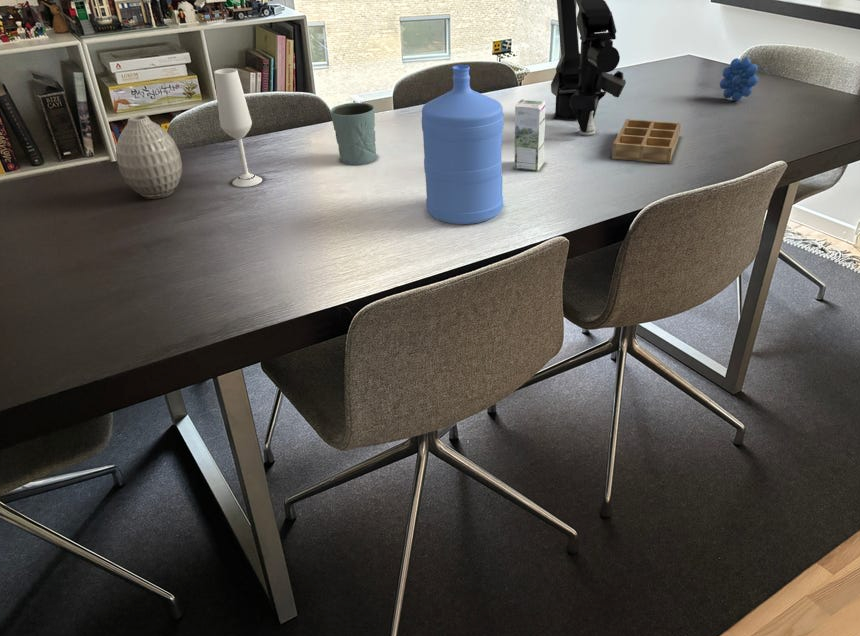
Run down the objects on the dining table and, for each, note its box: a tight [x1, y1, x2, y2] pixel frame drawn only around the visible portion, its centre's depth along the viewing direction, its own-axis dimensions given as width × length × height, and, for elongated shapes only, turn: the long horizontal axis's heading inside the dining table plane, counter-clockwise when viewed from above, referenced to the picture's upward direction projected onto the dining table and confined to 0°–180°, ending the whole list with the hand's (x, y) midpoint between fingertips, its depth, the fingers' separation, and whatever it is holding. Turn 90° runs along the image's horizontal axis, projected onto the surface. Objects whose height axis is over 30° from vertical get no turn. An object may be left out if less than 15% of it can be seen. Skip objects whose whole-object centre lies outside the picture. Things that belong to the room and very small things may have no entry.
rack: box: [611, 118, 682, 164], centre depth 181 cm, size 13×20×4 cm
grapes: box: [719, 56, 759, 102], centre depth 210 cm, size 12×7×12 cm, turn 37°
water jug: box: [421, 64, 504, 225], centre depth 145 cm, size 16×16×28 cm
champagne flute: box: [213, 67, 263, 188], centre depth 163 cm, size 7×7×24 cm
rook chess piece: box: [578, 111, 597, 137], centre depth 190 cm, size 4×4×8 cm
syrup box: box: [514, 99, 547, 172], centre depth 169 cm, size 6×6×14 cm
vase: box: [115, 114, 183, 200], centre depth 160 cm, size 13×13×17 cm
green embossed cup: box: [330, 102, 377, 166], centre depth 177 cm, size 10×10×12 cm
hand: (587, 126), depth 191 cm, fingers open, 8 cm apart
